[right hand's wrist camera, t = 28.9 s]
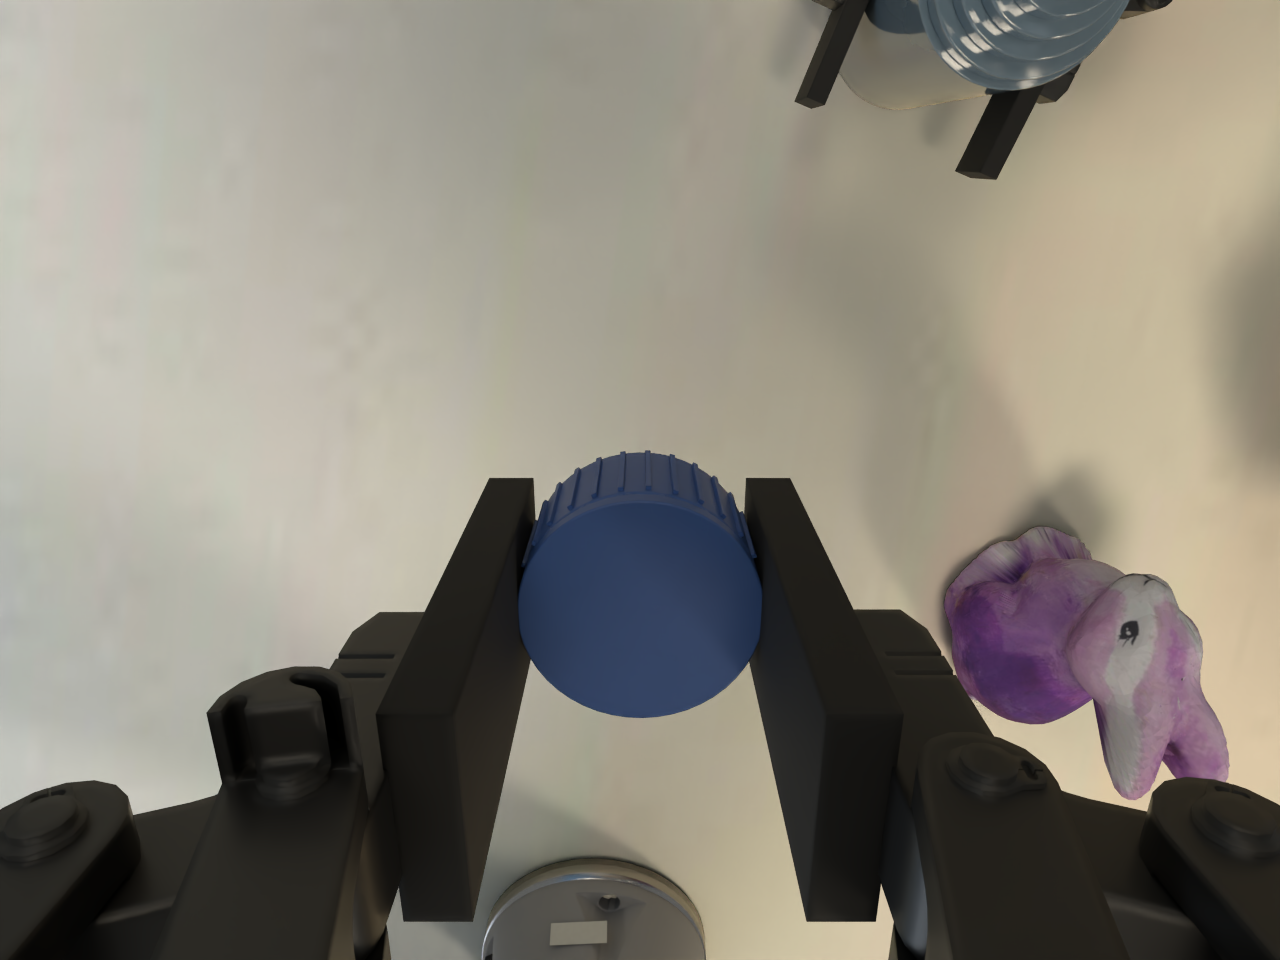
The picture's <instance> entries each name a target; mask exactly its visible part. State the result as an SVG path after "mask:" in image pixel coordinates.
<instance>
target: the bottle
mask: <svg viewBox="0 0 1280 960" xmlns="http://www.w3.org/2000/svg"><path fill="white" fill-rule="evenodd" d="M1128 2H1129V0H869V2H868V4H867V7H866V9H865V11H864V14H863V16H862V19H861V21H860V23H859V26H858V28H857V30H856V33H855V35H854V37H853V40H852V42H851V44H850V47H849V49H848V51H847V54H846V56H845V58H844V61H843V63H842V65H841V68H840V70H839V72H840V74H841V76H842V78H843V80H844V81H845V83H846V84H847V85H848V86H849V88H850V89H851V90H852V91H853V92H854V93H855V94H856V95H857V96H859V97H860V98H861V99H863V100H864V101H866V102H868V103H870V104H872V105H874V106H877V107H880V108H884V109H890V110H904V109H912V108H917V107H923V106H929V105H935V104H941V103H946V102H952V101H958V100H964V99H970V98H975V97H981V96H987V95H993V94H999V93H1005V92H1010V91H1016V90H1022V89H1027V88H1031V87H1035V86H1039V85H1042V84H1044V83H1047V82H1049V81H1052V80H1054V79H1056V78H1058V77H1060V76H1062V75H1063V74H1065V73H1067V72H1068V71H1070V70H1071V69H1073V68H1074V67H1075V66H1077V65H1078V64H1080V63H1081V62H1082V61H1083V60H1084V59H1085V58H1086V57H1087V56H1089V55H1090V54H1091V53H1092V52H1093V51H1094V49H1095V48H1096V47H1097V46H1098V45H1099V44H1100V43H1101V42H1102V41H1103V39H1104V38H1105V37H1106V36H1107V35H1108V34H1109V33H1110V31H1111V30H1112V29H1113V27H1114V26H1115V24H1116V23H1117V22H1118V20H1119V19H1120V17H1121V15H1122V14H1123V12H1124V10H1125V8H1126V7H1127V5H1128Z"/></svg>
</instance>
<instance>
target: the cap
mask: <svg viewBox="0 0 1280 960" xmlns="http://www.w3.org/2000/svg"><path fill="white" fill-rule="evenodd" d="M756 557H757V556H756V553H755V549H754V546H753V543H752V539H751V536H750V533H749V529H748V526H747V522H746V519H745V516H744V513H743V511H742V512H739V511H738V509H737V507H736V504H735V500H734V497H733V494H732V493H731V492H729V493H727V492H726V491H725V490H724V489H723V487H722V486H721V485H720V484H719V483H718V479H717V477H715V476H713V477H711V476H709V475H708V474H707V473H705V472H704V471H702V470H701V469H699V468H698V465H697V464H696V463H693V464H689V463H687V462H685V461H683V460H680V459H677V458H675V455H672V454H670V456H666V455H661V454H655V453H650V451H648V450H645V453H627V454H626V452H625V451H623V452H620V455H615V456H610V457H607V458H604V459H602V458H601V457H599V458H597V459H596V462H593V463H592V464H589V465H588V466H585V467H583V468H582V469H580V468H579V467H578V468H577V469H575V472H574V474H573V475H571V476H570V477H569V478H568V479H567V480H566V481H565V482H563V483H561V482H559V483H558V484H557V486H556V490H555V492H554V493H553V494H552V496H551V497H550V499H549V501H547V500H545V501H544V502H543V504H542V508H541V511H540V515H539V518H538V521H537V520H535V521H534V525H533V528H532V531H531V535H530V538H529V541H528V545H527V548H526V551H525V554H524V558H523V561H522V564H521V567H523V568H525V569H524V572H523V576H522V579H521V583H520V586H519V591H518V616H519V631H520V634H521V638H522V641H523V644H524V646H525V648H526V650H527V653H528V655H529V657H530V658H531V660H532V661H533V663H534V664H535V666H536V668H537V669H538V670H539V671H540V673H541V674H542V675H543V676H544V677H545V678H546V680H547V681H549V682H550V683H551V684H552V685H553V686H554V687H555V688H556V689H557V690H559V691H560V692H562V693H563V694H564V695H566V696H567V697H569V698H570V699H572V700H574V701H576V702H578V703H580V704H581V705H583V706H586V707H588V708H591V709H593V710H596V711H599V712H603V713H607V714H610V715H616V716H622V717H633V718H648V717H660V716H665V715H671V714H675V713H678V712H682V711H685V710H688V709H690V708H693V707H695V706H698V705H700V704H702V703H704V702H705V701H707V700H709V699H711V698H713V697H714V696H716V695H717V694H718V693H720V692H721V691H722V690H724V689H725V688H726V687H727V686H728V685H729V684H730V683H731V682H733V681H734V680H735V679H736V678H737V676H738V675H739V674H740V673H741V671H742V670H743V669H744V668H745V667H746V665H747V663H748V662H749V660H750V658H751V657H752V655H753V653H754V651H755V649H756V646H757V644H758V642H759V638H760V625H761V609H762V586H761V582H760V578H759V575H758V571H757V568H756V564H755V561H754V558H756Z"/></svg>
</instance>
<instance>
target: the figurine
mask: <svg viewBox="0 0 1280 960" xmlns="http://www.w3.org/2000/svg"><path fill="white" fill-rule="evenodd" d="M944 608H945V612H946V615H947V617H948V620H949V623H950V627H951V629H952V636H953V639H952V658H953V662H954V666H955V669H956V673H957V677H958V679H959V681H960V683H961V684H962V686H963V687H964V689H965V691H966V692H967V694H968V696H969V697H970V699H973V700H978V701H979V702H980V703H981V704H983V705H984V706H985V707H987V708H988V709H989V710H991V711H992V712H994V713H996V714H997V715H999V716H1001V717H1003V718H1005V719H1008V720H1012V721H1015V722H1021V723H1026V724H1045V723H1049V722H1052V721H1055V720H1057V719H1059V718H1062V717H1064V716H1066V715H1068V714H1069V713H1071V712H1073V711H1075V710H1077V709H1078V708H1080V707H1081V706H1083V705H1084V704H1086V703H1087V702H1089V701H1090V700H1092V699H1093V702H1094V707H1095V712H1096V718H1097V723H1098V729H1099V734H1100V739H1101V745H1102V750H1103V755H1104V761H1105V764H1106V766H1107V769H1108V772H1109V774H1110V777H1111V780H1112V782H1113V785H1114V788H1115V789H1116V790H1117V791H1118V792H1119V794H1120V795H1121V796H1122V797H1124V798H1126V799H1128V800H1136V799H1138V798H1140V797H1142V796H1143V795H1144V794H1145V793H1147V792H1148V791H1149V790H1150V788H1151V786H1152V784H1153V783H1154V780H1155V778H1156V775H1157V772H1158V770H1159V767H1160V764H1161V761H1163V762H1164V763H1165V764H1166V765H1167V767H1168V768H1169V770H1170V771H1171V773H1172V774H1173V775H1174V776H1175V777H1176V779H1177V778H1182V777H1195V778H1206V779H1215V780H1218V781H1222V782H1226V780H1227V778H1228V768H1229V754H1228V749H1227V746H1226V744H1227V742H1226V738H1225V736H1224V733H1223V729H1222V726H1221V724H1220V722H1219V720H1218V719H1217V717H1216V715H1215V713H1214V711H1213V710H1212V708H1211V707H1210V705H1209V704H1208V702H1207V701H1206V699H1205V697H1204V695H1203V692H1202V689H1201V685H1200V669H1201V662H1202V655H1203V646H1202V640H1201V637H1200V634H1199V631H1198V628H1197V627H1196V626H1195V624H1194V623H1193V621H1192V620H1191V619H1190V618H1189V617H1188V616H1186V615H1185V614H1184V613H1183V612H1182V611H1181V610H1180V609H1179V607H1178V604H1177V602H1176V599H1175V597H1174V594H1173V591H1172V589H1171V588H1170V586H1169V585H1168V583H1166V582H1165V581H1164V580H1162V579H1161V578H1159V577H1157V576H1154V575H1151V574H1134V573H1132V574H1128V575H1125V574H1124V573H1122V572H1121V571H1119V570H1118V569H1116V568H1114V567H1112V566H1110V565H1108V564H1105V563H1102V562H1099V561H1095V560H1092V558H1091V555H1090V552H1089V551H1088V550H1087V549H1086V547H1085V544H1084V543H1082V542H1081V541H1080V539H1078V538H1075V537H1073V536H1069V534H1067V535H1066V534H1065V533H1062V532H1061V531H1057V529H1053V528H1049V527H1046V526H1045V527H1041V526H1038V527H1035V528H1032V529H1029V530H1028V531H1027V532H1026V533H1024V534H1022V535H1021V536H1020V537H1019V538H1018V539H1015V540H1012V541H1000V542H998V543H996V544H993V545H991V546H989V548H988V549H986V550H984V551H983V552H982V553H981V554H979V555H978V558H976V559H974V560H973V561H972V562H971V563H970V564H969V565H968V566H967V567H966V568H965V569H964V570H963V571H962V572H961V573H960V575H959V576H958V577H957V578H956V579H955V581H954V583H952V584H951V585H950V587H949V588H948V589H947V592H946V597H945V600H944Z"/></svg>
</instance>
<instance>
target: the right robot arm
mask: <svg viewBox="0 0 1280 960" xmlns="http://www.w3.org/2000/svg"><path fill="white" fill-rule="evenodd" d="M744 516H745V519H746V522H747V526H748V529H749V533H750V536H751V539H752V543H753V546H754V549H755V553H756V556H757V557H756V558H754V561H755V564H756V568H757V571H758V575H759V578H760V582H761V586H762V609H761V625H760V638H759V642H758V644H757V646H756V649H755V651H754V653H753V655H752V657H751V658H750V660H749V663H750V667H751V672H752V676H753V681H754V685H755V690H756V694H757V699H758V703H759V708H760V713H761V717H762V722H763V726H764V731H765V735H766V740H767V744H768V749H769V753H770V758H771V762H772V767H773V771H774V776H775V780H776V785H777V790H778V794H779V799H780V803H781V808H782V812H783V817H784V821H785V826H786V830H787V835H788V839H789V844H790V848H791V853H792V857H793V862H794V866H795V871H796V876H797V880H798V885H799V889H800V894H801V898H802V903H803V907H804V912H805V916H806V921H807V922H876V916H877V909H878V901H879V894H880V887H881V884H882V887H883V890H884V893H885V896H886V899H887V902H888V905H889V908H890V911H891V914H892V917H893V920H894V925H893V932H892V938H891V945H890V952H889V959H888V960H1280V805H1278V804H1276V803H1274V802H1272V801H1270V800H1268V799H1266V798H1264V797H1262V796H1260V795H1258V794H1256V793H1254V792H1252V791H1250V790H1248V789H1245V788H1242V787H1239V786H1236V785H1234V784H1233V785H1232V784H1229V783H1226V782H1222V781H1218V780H1215V779H1206V778H1195V777H1182V778H1177V779H1173V780H1168V781H1164V782H1163V783H1162V784H1161V785H1160V786H1159V787H1158V788H1157V789H1156V790H1155V791H1154V792H1153V793H1152V796H1151V800H1150V803H1149V807H1148V811H1147V812H1146V811H1141V810H1137V809H1132V808H1128V807H1123V806H1119V805H1114V804H1110V803H1105V802H1101V801H1096V800H1091V799H1087V798H1084V797H1080V796H1077V795H1073V794H1070V793H1067V792H1064V791H1062V790H1061V789H1060V786H1059V784H1058V782H1057V781H1056V779H1055V778H1054V776H1053V775H1052V773H1051V772H1050V770H1049V769H1048V768H1047V766H1046V765H1045V764H1044V763H1043V762H1041V761H1040V760H1039V759H1037V758H1036V757H1035V756H1033V755H1032V754H1031V753H1029V752H1028V751H1027V750H1026V749H1024V748H1021V747H1019V746H1017V745H1015V744H1013V743H1010V742H1008V741H1006V740H1004V739H1002V738H998V737H994V736H993V734H992V732H991V731H990V729H989V728H988V726H987V724H986V723H985V721H984V720H983V718H982V716H981V715H980V713H979V712H978V710H977V708H976V707H975V705H974V704H973V702H972V700H971V699H970V697H969V696H968V694H967V692H966V691H965V689H964V687H963V686H962V684H961V683H960V681H959V679H958V678H957V676H956V675H953V670H952V668H951V667H950V665H949V663H948V662H947V660H946V659H945V657H944V656H941V651H940V649H939V647H938V646H937V644H936V642H935V641H934V639H933V638H932V636H931V634H930V633H929V631H928V630H927V629H926V628H925V627H924V626H922V625H921V624H919V623H918V622H917V621H915V620H914V619H913V618H911V617H910V616H908V615H907V614H906V613H904V612H903V611H901V610H853V607H852V605H851V603H850V601H849V599H848V597H847V595H846V593H845V591H844V589H843V587H842V585H841V583H840V581H839V579H838V576H837V574H836V572H835V570H834V568H833V566H832V564H831V562H830V560H829V558H828V556H827V554H826V552H825V550H824V547H823V545H822V543H821V541H820V539H819V537H818V535H817V533H816V531H815V529H814V527H813V525H812V523H811V521H810V518H809V516H808V514H807V512H806V510H805V508H804V506H803V504H802V502H801V500H800V498H799V496H798V494H797V492H796V490H795V487H794V485H793V483H792V481H791V479H790V478H746V490H745V511H744ZM534 521H535V501H534V481H533V478H489V480H488V482H487V484H486V486H485V488H484V490H483V493H482V495H481V497H480V499H479V501H478V503H477V505H476V507H475V509H474V511H473V513H472V515H471V517H470V519H469V521H468V524H467V526H466V528H465V530H464V532H463V534H462V536H461V538H460V540H459V542H458V544H457V546H456V548H455V550H454V552H453V555H452V557H451V559H450V561H449V563H448V565H447V567H446V569H445V571H444V573H443V575H442V577H441V579H440V581H439V584H438V586H437V588H436V590H435V592H434V594H433V596H432V598H431V600H430V602H429V604H428V606H427V608H426V610H425V612H379V613H378V614H376V615H375V616H374V617H372V618H371V619H369V620H368V621H367V622H365V623H364V624H363V625H361V626H360V627H358V628H357V629H356V630H354V631H353V632H352V634H351V635H350V637H349V638H348V640H347V642H346V643H345V645H344V647H343V648H342V650H341V651H340V653H339V658H338V659H336V660H335V661H334V663H333V664H332V666H331V668H330V669H326V668H322V667H290V668H285V669H280V670H275V671H269V672H266V673H263V674H261V675H258V676H256V677H253V678H251V679H248V680H246V681H243V682H241V683H239V684H238V685H236V686H235V687H233V688H232V689H230V690H229V691H227V692H226V693H224V694H223V695H221V696H220V697H219V698H218V699H217V701H216V702H215V703H214V704H213V706H212V707H211V708H210V709H209V710H208V712H207V717H208V722H209V726H210V731H211V735H212V740H213V744H214V749H215V753H216V758H217V762H218V767H219V771H220V776H221V780H222V785H221V788H220V790H219V793H218V794H217V795H215V796H211V797H208V798H205V799H201V800H198V801H194V802H191V803H186V804H182V805H177V806H173V807H168V808H164V809H159V810H155V811H150V812H146V813H141V814H137V815H133V813H132V810H131V806H130V802H129V799H128V796H127V795H126V794H125V793H124V792H123V791H122V790H121V789H120V788H119V787H118V786H116V785H114V784H109V783H104V782H100V781H95V780H93V781H82V782H71V783H64V784H61V785H58V786H54V787H51V788H46V789H43V790H41V791H38V792H34V793H32V794H30V795H28V796H26V797H24V798H22V799H20V800H18V801H16V802H14V803H12V804H10V805H8V806H6V807H4V808H2V809H1V810H0V960H391V953H390V946H389V938H388V932H387V925H386V923H387V920H388V917H389V914H390V911H391V908H392V905H393V902H394V899H395V896H396V893H397V890H398V887H399V891H400V898H401V905H402V913H403V920H404V922H473V918H474V914H475V909H476V905H477V900H478V896H479V891H480V887H481V882H482V878H483V873H484V869H485V864H486V859H487V855H488V850H489V846H490V841H491V837H492V832H493V828H494V823H495V819H496V814H497V810H498V805H499V801H500V796H501V792H502V787H503V783H504V778H505V774H506V769H507V764H508V760H509V755H510V751H511V746H512V742H513V737H514V733H515V728H516V724H517V719H518V715H519V710H520V706H521V701H522V697H523V692H524V688H525V683H526V678H527V674H528V669H529V665H530V660H531V658H530V657H529V655H528V653H527V650H526V648H525V646H524V644H523V641H522V638H521V634H520V631H519V616H518V591H519V586H520V583H521V579H522V576H523V572H524V569H525V568H523V567H521V564H522V561H523V558H524V554H525V551H526V548H527V545H528V541H529V538H530V535H531V531H532V528H533V525H534ZM482 960H706V954H705V941H704V931H703V926H702V922H701V919H700V917H699V915H698V912H697V910H696V909H695V907H694V906H693V904H692V902H691V901H690V900H689V899H688V897H687V896H686V895H685V894H684V893H683V892H682V891H681V890H680V889H679V888H677V887H676V886H675V885H674V884H673V883H671V882H670V881H668V880H667V879H665V878H664V877H662V876H660V875H658V874H656V873H655V872H652V871H650V870H648V869H646V868H643V867H640V866H637V865H634V864H630V863H626V862H621V861H616V860H608V859H577V860H569V861H564V862H559V863H555V864H551V865H548V866H545V867H543V868H540V869H538V870H535V871H533V872H531V873H529V874H527V875H526V876H524V877H522V878H521V879H519V880H518V881H517V882H515V883H514V884H513V885H511V886H510V887H509V888H508V889H507V890H506V891H505V892H504V893H503V894H502V896H501V897H500V898H499V899H498V901H497V902H496V904H495V905H494V907H493V909H492V911H491V914H490V916H489V919H488V923H487V928H486V933H485V938H484V943H483V947H482Z"/></svg>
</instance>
